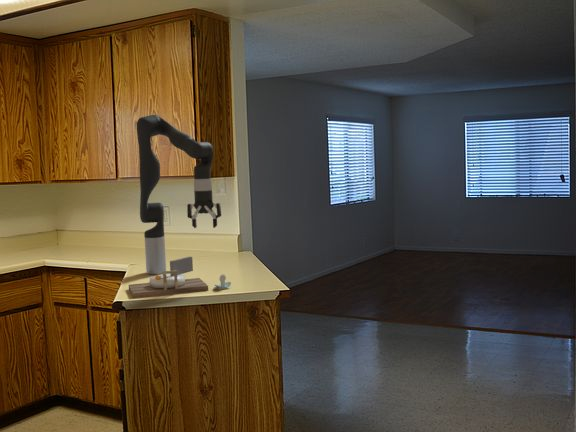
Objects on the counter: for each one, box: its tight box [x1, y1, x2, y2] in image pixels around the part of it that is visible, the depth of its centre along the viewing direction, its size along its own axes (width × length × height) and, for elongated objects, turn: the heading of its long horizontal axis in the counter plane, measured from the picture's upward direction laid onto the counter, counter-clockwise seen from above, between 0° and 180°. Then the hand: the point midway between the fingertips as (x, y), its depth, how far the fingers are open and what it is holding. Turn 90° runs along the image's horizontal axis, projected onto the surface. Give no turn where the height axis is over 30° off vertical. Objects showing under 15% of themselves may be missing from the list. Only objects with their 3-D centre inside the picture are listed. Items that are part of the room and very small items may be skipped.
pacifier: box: [213, 273, 232, 291], centre depth 270 cm, size 7×6×6 cm
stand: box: [128, 270, 209, 299], centre depth 270 cm, size 18×30×9 cm, turn 109°
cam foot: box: [149, 256, 194, 288], centre depth 273 cm, size 23×14×9 cm, turn 149°
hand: (204, 227), depth 278 cm, fingers open, 8 cm apart
